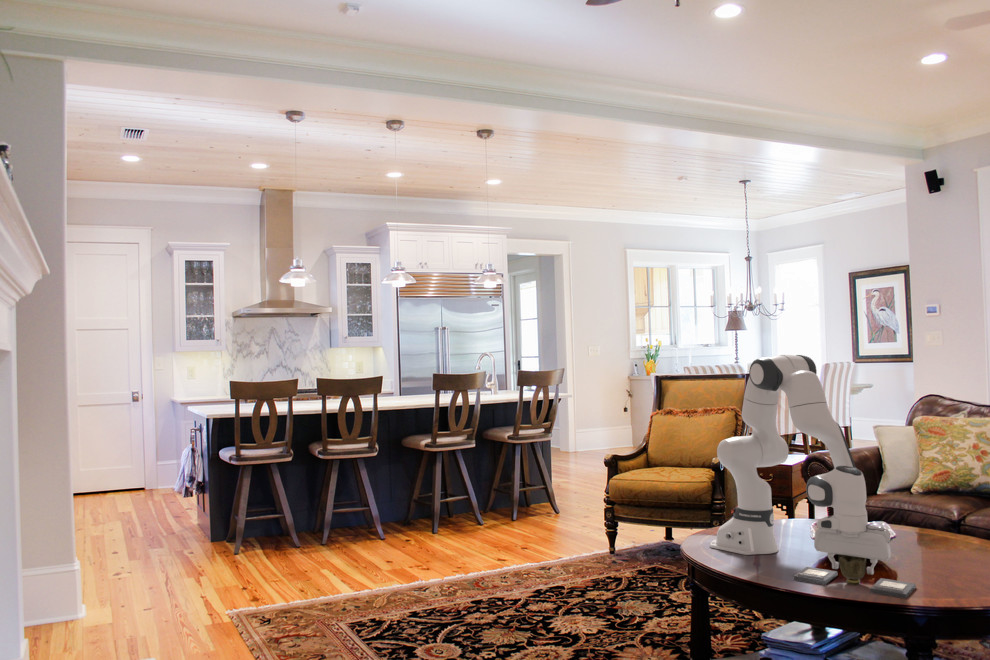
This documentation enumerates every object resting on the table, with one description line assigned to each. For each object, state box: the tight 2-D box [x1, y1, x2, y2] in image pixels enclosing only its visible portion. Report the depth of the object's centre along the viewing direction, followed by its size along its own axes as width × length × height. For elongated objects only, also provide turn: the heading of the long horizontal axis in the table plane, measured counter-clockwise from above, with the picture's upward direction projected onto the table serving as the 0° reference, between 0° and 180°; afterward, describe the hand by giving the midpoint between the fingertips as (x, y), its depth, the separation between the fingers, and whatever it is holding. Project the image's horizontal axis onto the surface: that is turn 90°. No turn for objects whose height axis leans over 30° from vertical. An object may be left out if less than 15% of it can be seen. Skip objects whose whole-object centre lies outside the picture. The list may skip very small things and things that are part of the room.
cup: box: [837, 554, 867, 586], centre depth 220 cm, size 8×7×8 cm
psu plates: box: [793, 566, 917, 600], centre depth 220 cm, size 30×12×2 cm, turn 50°
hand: (852, 571), depth 220 cm, fingers open, 8 cm apart
